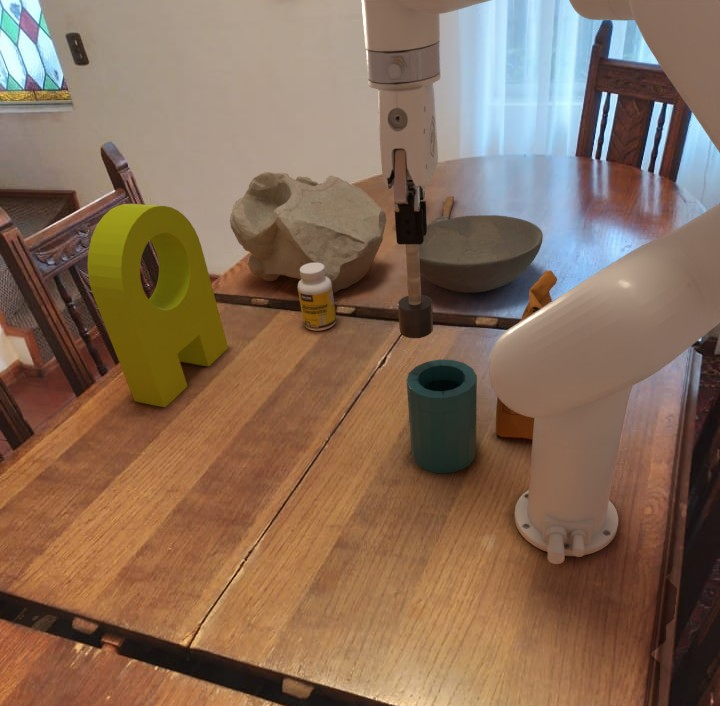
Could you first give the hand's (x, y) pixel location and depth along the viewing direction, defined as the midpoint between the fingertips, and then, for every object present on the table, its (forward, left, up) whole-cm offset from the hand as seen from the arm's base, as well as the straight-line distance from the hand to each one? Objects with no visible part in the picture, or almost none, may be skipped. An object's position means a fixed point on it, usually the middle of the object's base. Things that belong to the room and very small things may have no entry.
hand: (412, 238), depth 81 cm
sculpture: (+56, +32, -31) cm, 72 cm away
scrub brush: (0, 0, -12) cm, 12 cm away
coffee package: (+6, -15, -31) cm, 35 cm away
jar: (-3, -3, -31) cm, 31 cm away
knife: (+83, +8, -31) cm, 89 cm away
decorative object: (+15, +47, -31) cm, 58 cm away
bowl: (+52, -2, -31) cm, 61 cm away
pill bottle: (+34, +26, -31) cm, 53 cm away
